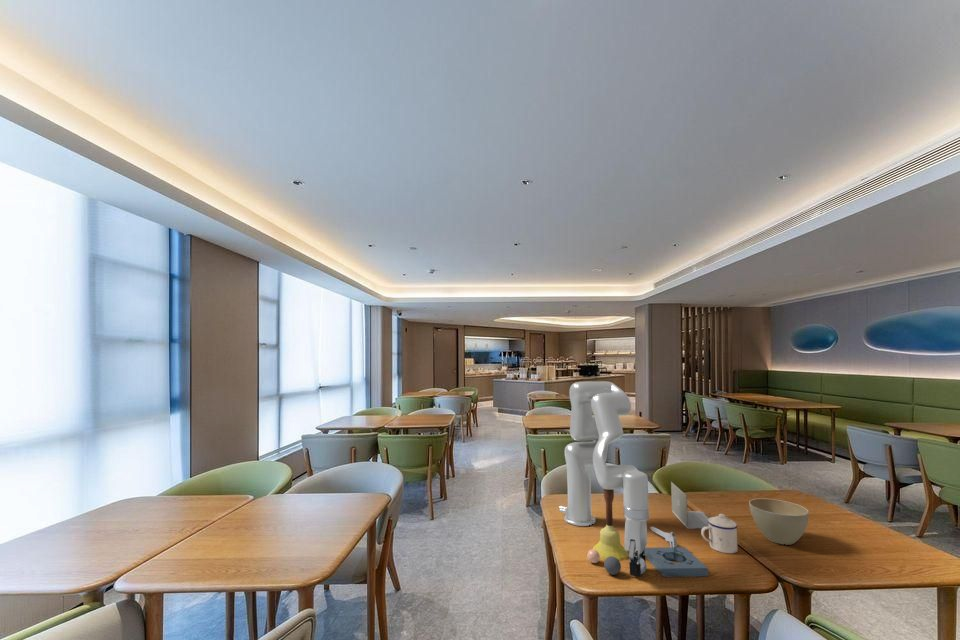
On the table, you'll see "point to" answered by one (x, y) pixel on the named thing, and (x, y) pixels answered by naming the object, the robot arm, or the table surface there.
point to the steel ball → (642, 565)
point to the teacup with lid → (721, 534)
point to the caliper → (666, 536)
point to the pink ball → (593, 556)
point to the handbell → (610, 534)
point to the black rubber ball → (612, 565)
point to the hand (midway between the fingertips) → (637, 570)
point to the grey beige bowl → (779, 519)
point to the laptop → (680, 510)
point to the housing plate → (672, 569)
